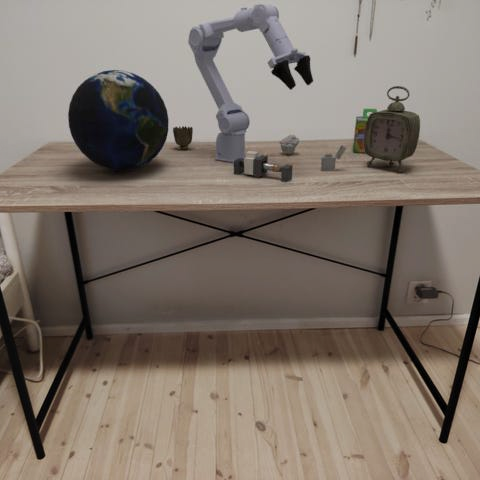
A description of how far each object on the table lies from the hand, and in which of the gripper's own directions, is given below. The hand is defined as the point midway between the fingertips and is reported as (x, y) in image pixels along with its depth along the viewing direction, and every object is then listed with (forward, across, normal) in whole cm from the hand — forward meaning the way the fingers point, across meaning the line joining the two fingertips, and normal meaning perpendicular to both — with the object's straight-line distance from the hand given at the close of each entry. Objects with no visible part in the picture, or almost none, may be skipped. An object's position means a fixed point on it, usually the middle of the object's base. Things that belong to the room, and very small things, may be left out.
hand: (301, 85), depth 125 cm
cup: (-10, -8, +56) cm, 57 cm away
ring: (+16, -11, +21) cm, 28 cm away
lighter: (+24, +9, +13) cm, 29 cm away
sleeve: (+14, -12, +23) cm, 30 cm away
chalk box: (+22, +38, +19) cm, 48 cm away
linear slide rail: (+16, -11, +20) cm, 28 cm away
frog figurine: (+11, +14, +31) cm, 36 cm away
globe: (-7, -37, +48) cm, 61 cm away
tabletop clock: (+32, +24, +5) cm, 40 cm away
